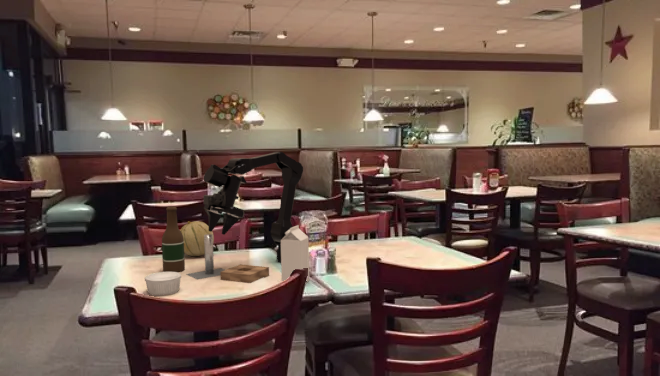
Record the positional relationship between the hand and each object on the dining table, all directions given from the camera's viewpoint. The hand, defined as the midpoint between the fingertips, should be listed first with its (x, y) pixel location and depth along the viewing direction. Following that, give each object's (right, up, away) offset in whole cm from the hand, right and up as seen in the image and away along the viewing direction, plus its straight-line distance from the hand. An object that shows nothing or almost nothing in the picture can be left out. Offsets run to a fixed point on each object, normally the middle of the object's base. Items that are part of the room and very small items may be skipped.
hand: (216, 232), depth 192 cm
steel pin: (-3, -15, +1) cm, 15 cm away
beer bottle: (-17, -15, +7) cm, 24 cm away
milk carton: (+29, -16, -12) cm, 35 cm away
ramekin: (-13, -17, -20) cm, 29 cm away
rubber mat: (-3, -15, +1) cm, 15 cm away
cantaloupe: (-15, -13, +34) cm, 39 cm away
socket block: (+11, -15, -5) cm, 19 cm away
